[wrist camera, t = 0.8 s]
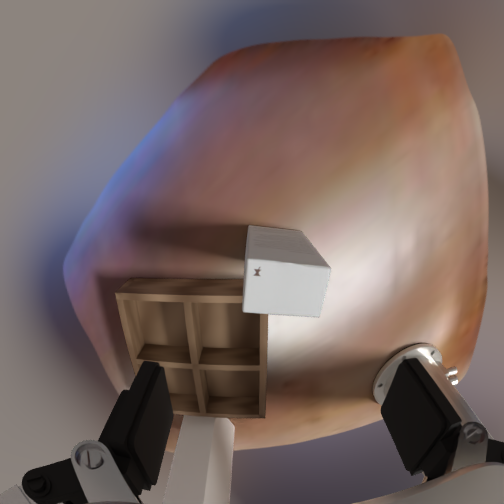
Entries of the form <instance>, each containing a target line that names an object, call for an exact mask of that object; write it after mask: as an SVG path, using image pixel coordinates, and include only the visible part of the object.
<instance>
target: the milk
mask: <svg viewBox="0 0 504 504" xmlns="http://www.w3.org/2000/svg"><path fill="white" fill-rule="evenodd" d="M234 430H235V426H234V425H233V424H232V423H231V421H230V420H229V419H228V418H217V417H201V416H189V415H184V417H183V421H182V425H181V429H180V433H179V437H178V441H177V445H176V449H175V453H174V457H173V461H172V466H171V469H170V474H169V478H168V482H167V486H166V490H165V494H164V499H163V503H162V504H230V489H231V474H232V473H231V472H232V459H233V444H234Z"/></svg>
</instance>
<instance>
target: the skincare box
mask: <svg viewBox="0 0 504 504" xmlns="http://www.w3.org/2000/svg"><path fill="white" fill-rule="evenodd" d="M330 272H331V267H330V266H329V265H328V264H327V262H326V261H325V260H324V259H323V257H322V256H321V255H320V254H319V252H318V251H317V250H316V248H315V247H314V246H313V245H312V243H311V242H310V241H309V240H308V238H307V237H306V236H305V234H304V233H303V232H302V231H296V230H288V229H279V228H270V227H261V226H252V225H249V226H248V233H247V242H246V252H245V264H244V282H243V300H242V311H243V312H248V313H259V314H272V315H287V316H305V317H320V314H321V310H322V306H323V302H324V298H325V294H326V290H327V286H328V281H329V277H330Z"/></svg>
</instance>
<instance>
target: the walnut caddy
mask: <svg viewBox="0 0 504 504" xmlns="http://www.w3.org/2000/svg"><path fill="white" fill-rule="evenodd" d="M243 282H244V279H154V278H130V279H129V280H128V281H127V282H126V283H125V284H124V285H122V286H121V287H120V288H119V289H118V290H117V291H116V292H115V295H116V300H117V305H118V310H119V315H120V319H121V323H122V328H123V332H124V336H125V340H126V344H127V348H128V352H129V355H130V359H131V362H132V366H133V369H134V373H135V376H136V375H137V373H138V371H139V369H140V367H141V365H142V363H143V361H152V362H158V363H159V364H160V366H162V367H164V369H165V375H166V380H167V385H168V390H169V395H170V400H171V404H172V409H173V414H179V415H189V416H201V417H217V418H265V410H266V379H267V340H268V314H259V313H248V312H243V311H242V300H243Z"/></svg>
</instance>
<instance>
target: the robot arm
mask: <svg viewBox="0 0 504 504" xmlns="http://www.w3.org/2000/svg"><path fill="white" fill-rule="evenodd" d="M456 373H457V368H456V367H455V366H454V367H451V368H448V369H446V368H445V367H444V366H443V365H442V355H441V353H440V352H439V350H438V349H437V348H436V347H434V346H433V345H430V344H417V345H413V346H410V347H408V348H406V349H404V350H402V351H401V352H399V353H398V354H396V355H395V356H393V357H392V358H391V359H390V360H389V361H388V362H387V363H386V364H385V365H384V366H383V367H382V369H381V370H380V371H379V373H378V374H377V376H376V378H375V381H374V383H373V395H374V397H375V399H376V401H377V402H378V403H379V404H380V405H382V406H381V414H382V417H383V419H384V421H385V423H386V425H387V428H388V430H389V432H390V434H391V436H392V439H393V441H394V443H395V445H396V448H397V450H398V452H399V455H400V457H401V459H402V461H403V464H404V466H405V468H406V470H407V471H410V473H411V476H413V475H416V474H419V473H423V475H424V479H423V481H422V484H420V485H417V486H414V487H411V488H408V489H405V490H402V491H399V492H396V493H393V494H389V495H386V496H382V497H379V498H375V499H371V500H367V501H362V502H358V503H353V504H504V442H499V441H496V440H494V439H493V438H492V436H491V435H490V434H489V432H488V431H487V430H486V428H485V427H484V426H483V424H482V423H481V421H480V420H479V419H478V417H477V416H476V414H475V413H474V412H473V410H472V409H471V408H470V406H469V405H468V404H467V402H466V401H465V400H464V398H463V397H462V396H461V394H460V393H459V392H458V390H457V389H456V388H455V385H456V384H457V382H458V378H457V376H456V375H454V374H456ZM451 375H453V376H451ZM448 376H449V377H448ZM172 421H173V409H172V404H171V400H170V395H169V390H168V385H167V380H166V375H165V369H164V367H162V366H160V364H159V363H158V362H152V361H143V363H142V365H141V367H140V369H139V371H138V373H137V375H136V377H135V379H134V381H133V383H132V385H131V387H130V390H123V391H122V392H121V394H120V396H119V398H118V400H117V402H116V404H115V406H114V408H113V410H112V412H111V414H110V416H109V419H108V420H107V423H106V425H105V427H104V429H103V431H102V433H101V435H100V438H99V440H98V441H95V440H86V441H82V442H80V443H78V444H77V445H76V446H75V447H74V448H73V450H72V452H71V458H69V459H66V460H63V461H60V462H56V463H54V464H50V465H47V466H43V467H39V468H35V469H32V470H30V471H28V472H27V473H26V474H25V475H24V477H23V479H22V485H21V486H19V487H18V486H17V485H15V486H13V487H11V488H10V489H8V490H6V491H5V492H3V493H2V494H0V504H143V502H142V501H141V499H140V498H139V495H141V493H142V489H144V490H149V491H150V489H151V485H156V483H157V479H158V476H159V472H160V467H161V463H162V459H163V455H164V451H165V448H166V444H167V440H168V436H169V432H170V428H171V424H172Z"/></svg>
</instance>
